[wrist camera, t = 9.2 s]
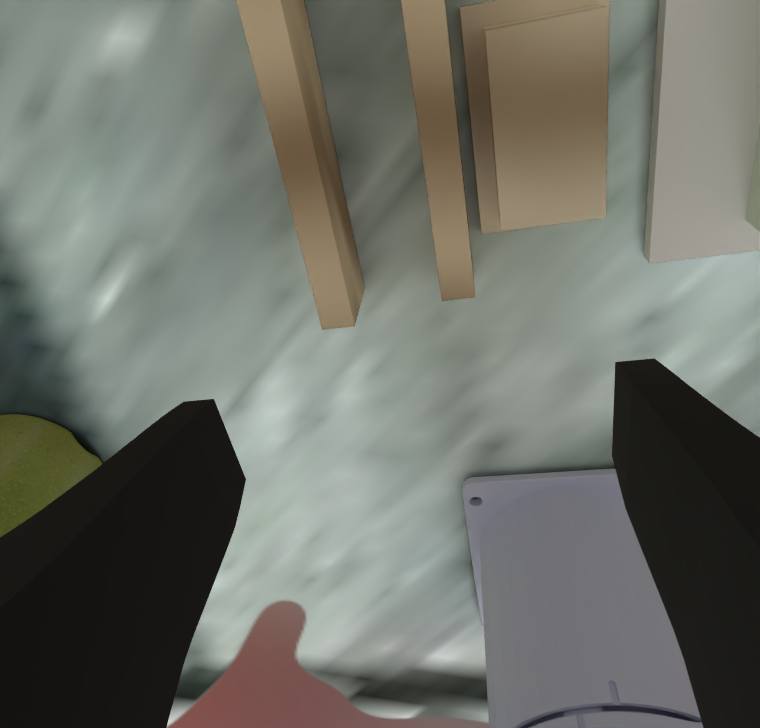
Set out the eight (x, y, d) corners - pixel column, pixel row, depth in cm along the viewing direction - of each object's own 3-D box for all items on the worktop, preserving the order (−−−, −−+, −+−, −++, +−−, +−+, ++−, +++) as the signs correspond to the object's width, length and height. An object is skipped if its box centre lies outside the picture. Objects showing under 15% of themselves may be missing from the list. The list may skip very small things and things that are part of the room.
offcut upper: (597, 203, 17) (604, 215, 16) (498, 216, 18) (501, 230, 17) (598, 4, 15) (608, 6, 14) (483, 28, 15) (485, 31, 14)
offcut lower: (597, 205, 18) (605, 217, 17) (480, 222, 19) (481, 234, 18) (600, -23, 15) (610, -23, 14) (459, 6, 16) (459, 7, 15)
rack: (473, 276, 19) (476, 312, 17) (335, 292, 20) (322, 329, 18) (438, -61, 15) (436, -67, 12) (260, -21, 15) (231, -21, 13)
